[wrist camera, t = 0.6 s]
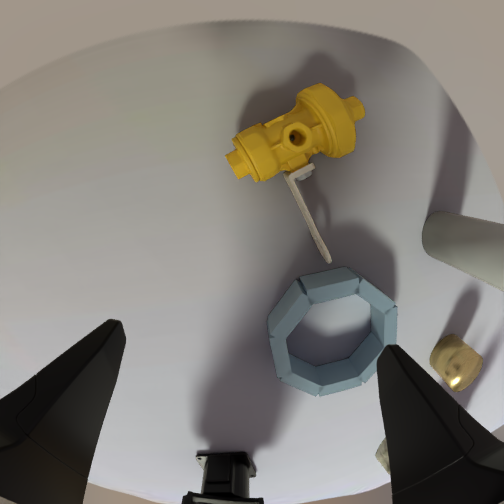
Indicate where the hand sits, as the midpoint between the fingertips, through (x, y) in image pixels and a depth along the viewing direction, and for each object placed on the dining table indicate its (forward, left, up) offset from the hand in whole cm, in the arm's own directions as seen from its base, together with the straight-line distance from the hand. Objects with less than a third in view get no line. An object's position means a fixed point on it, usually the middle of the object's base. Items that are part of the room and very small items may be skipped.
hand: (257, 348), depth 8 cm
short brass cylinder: (-16, -19, -13) cm, 28 cm away
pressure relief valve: (+5, -6, -14) cm, 16 cm away
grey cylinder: (-2, -17, -13) cm, 22 cm away
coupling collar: (-8, -5, -13) cm, 16 cm away
